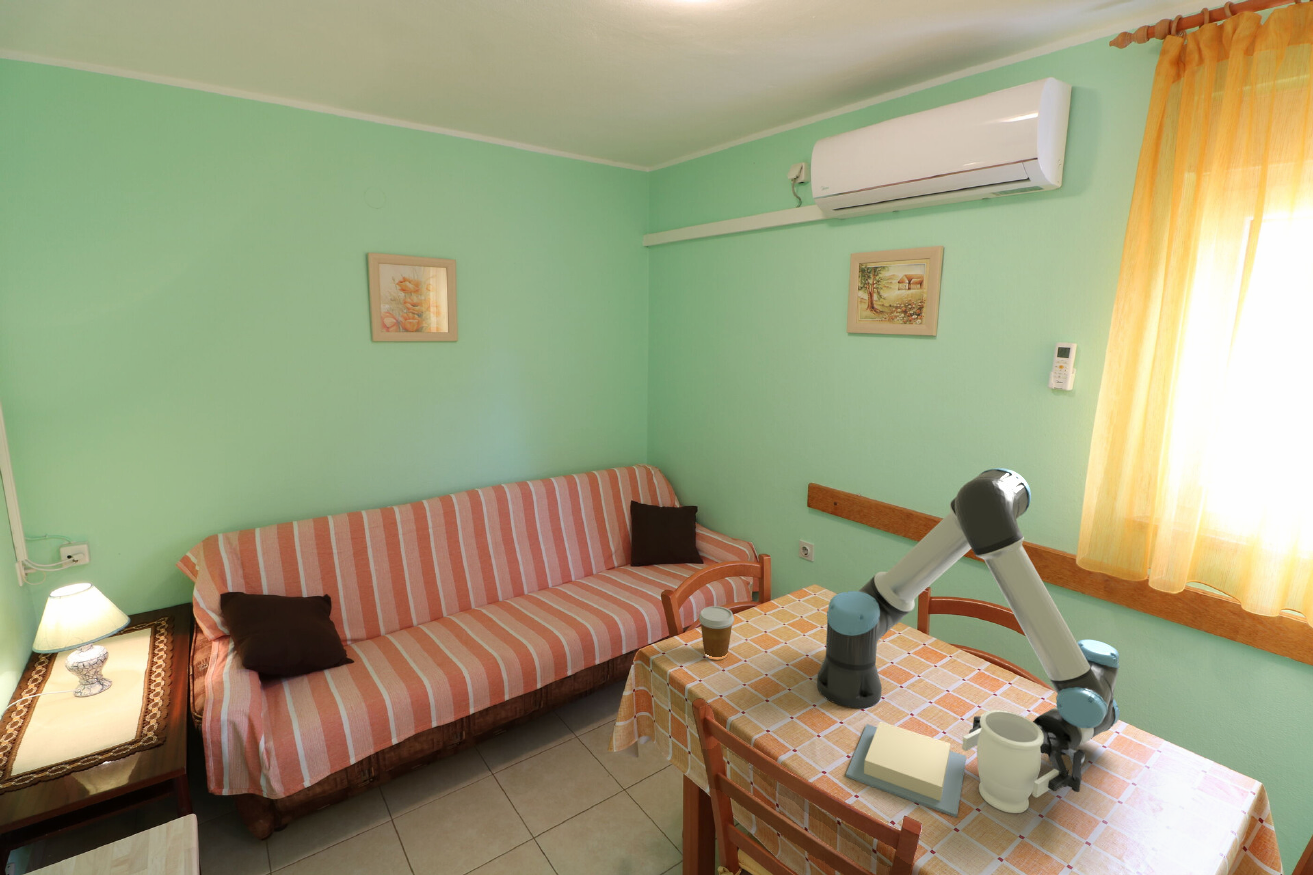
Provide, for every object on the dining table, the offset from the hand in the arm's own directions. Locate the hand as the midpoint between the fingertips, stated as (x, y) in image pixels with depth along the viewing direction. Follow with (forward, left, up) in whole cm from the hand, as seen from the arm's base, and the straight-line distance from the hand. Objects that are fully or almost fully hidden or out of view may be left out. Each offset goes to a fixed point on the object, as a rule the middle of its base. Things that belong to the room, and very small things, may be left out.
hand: (997, 765), depth 114 cm
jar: (+1, +3, -8) cm, 9 cm away
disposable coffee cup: (-68, +21, -8) cm, 71 cm away
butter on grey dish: (-16, +2, -8) cm, 18 cm away
